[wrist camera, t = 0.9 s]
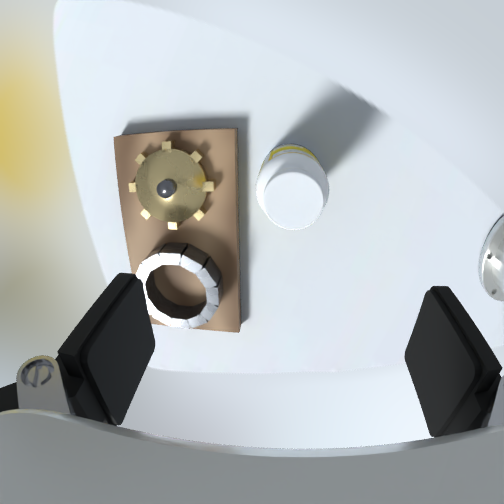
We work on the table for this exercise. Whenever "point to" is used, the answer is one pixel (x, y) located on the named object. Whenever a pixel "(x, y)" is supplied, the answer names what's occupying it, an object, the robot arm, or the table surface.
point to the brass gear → (172, 184)
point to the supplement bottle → (292, 187)
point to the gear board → (188, 220)
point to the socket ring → (193, 262)
